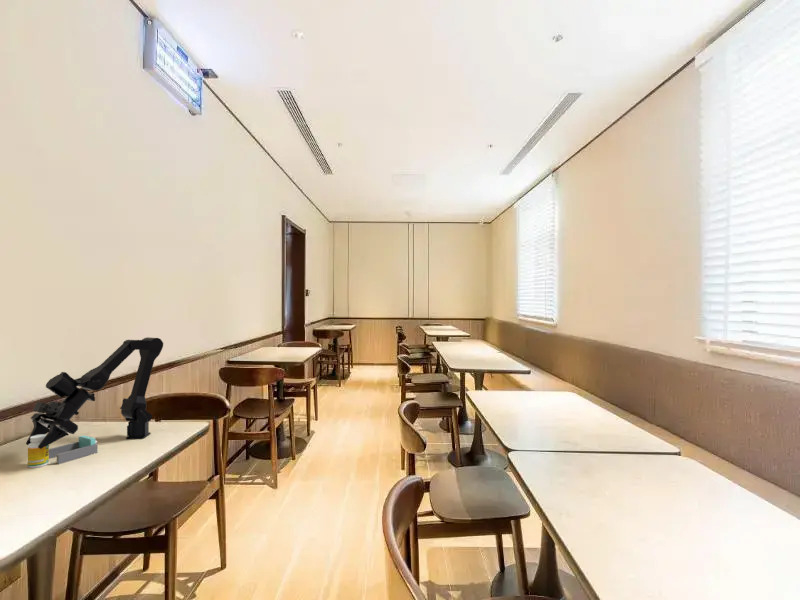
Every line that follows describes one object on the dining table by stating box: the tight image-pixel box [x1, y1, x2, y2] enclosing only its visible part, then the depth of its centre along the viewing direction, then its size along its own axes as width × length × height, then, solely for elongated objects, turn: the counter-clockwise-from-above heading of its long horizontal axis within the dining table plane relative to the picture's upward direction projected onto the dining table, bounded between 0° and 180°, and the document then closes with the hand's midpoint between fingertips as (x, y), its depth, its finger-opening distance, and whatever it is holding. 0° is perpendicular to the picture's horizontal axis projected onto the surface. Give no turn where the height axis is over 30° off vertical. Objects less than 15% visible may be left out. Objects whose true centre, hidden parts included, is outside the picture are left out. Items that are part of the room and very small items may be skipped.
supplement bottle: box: [27, 434, 50, 469], centre depth 144 cm, size 5×5×10 cm
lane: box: [49, 435, 98, 465], centre depth 153 cm, size 14×10×5 cm
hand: (33, 446), depth 142 cm, fingers open, 7 cm apart
